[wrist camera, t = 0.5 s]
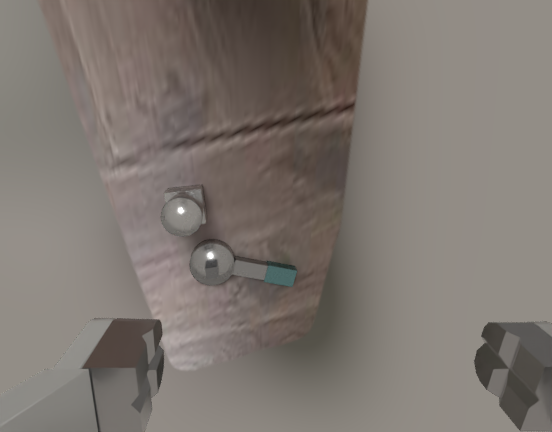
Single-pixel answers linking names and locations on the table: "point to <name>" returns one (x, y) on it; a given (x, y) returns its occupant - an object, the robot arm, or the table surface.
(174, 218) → the cylinder on square base
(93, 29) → the table surface
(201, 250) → the ratchet
